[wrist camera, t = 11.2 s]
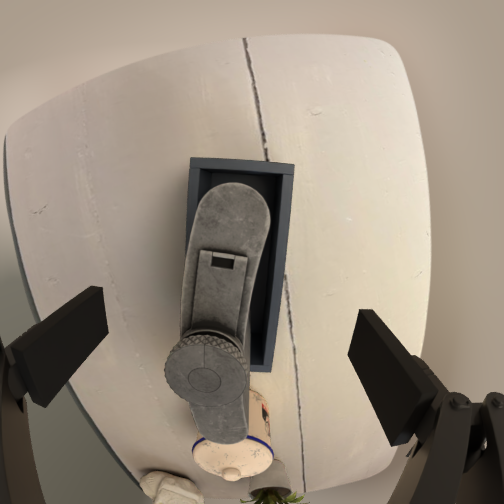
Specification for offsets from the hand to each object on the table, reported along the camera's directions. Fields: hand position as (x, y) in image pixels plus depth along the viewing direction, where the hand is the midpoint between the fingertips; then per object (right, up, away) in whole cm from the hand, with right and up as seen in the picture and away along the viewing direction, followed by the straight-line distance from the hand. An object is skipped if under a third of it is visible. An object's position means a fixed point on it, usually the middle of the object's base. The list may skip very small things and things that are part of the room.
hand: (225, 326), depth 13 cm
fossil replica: (-14, -40, +25) cm, 49 cm away
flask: (0, +3, +14) cm, 15 cm away
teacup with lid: (-1, -16, +20) cm, 25 cm away
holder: (0, +3, +15) cm, 15 cm away
